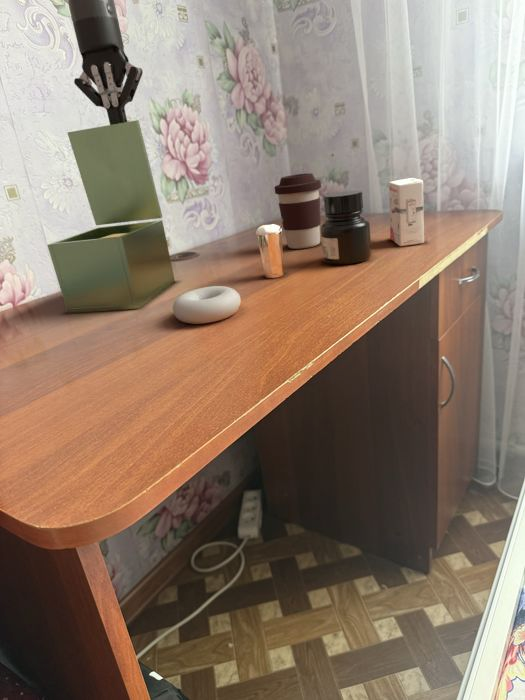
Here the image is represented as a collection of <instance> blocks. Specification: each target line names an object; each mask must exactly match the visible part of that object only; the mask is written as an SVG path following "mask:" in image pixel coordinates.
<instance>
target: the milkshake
mask: <svg viewBox="0 0 525 700" xmlns="http://www.w3.org/2000/svg"><path fill="white" fill-rule="evenodd" d="M282 222H283V219H282V218H281V222H280V225H278V224H275V223H272V224H263V225H261V226H259V227H258V228H257V229H256V231H255V235H256V239H257V240H256V241H257V243H258V247H259V253H260V257H261V262H262V267H263V273H264V276H265V278H267V279H276V278H280V277H283V276H284V256H283V230H282V228H283V223H282Z"/></svg>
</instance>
